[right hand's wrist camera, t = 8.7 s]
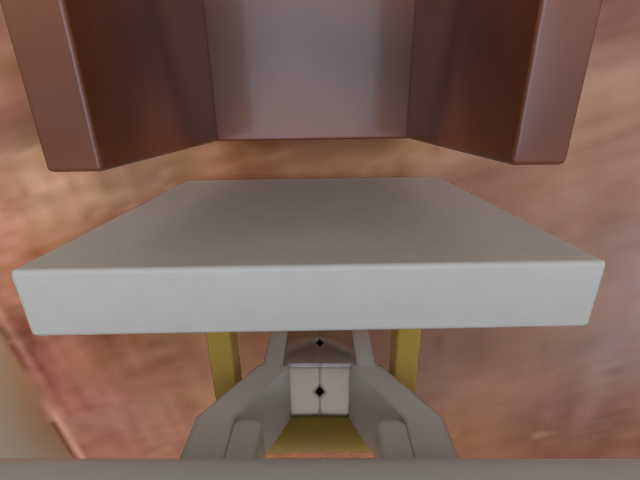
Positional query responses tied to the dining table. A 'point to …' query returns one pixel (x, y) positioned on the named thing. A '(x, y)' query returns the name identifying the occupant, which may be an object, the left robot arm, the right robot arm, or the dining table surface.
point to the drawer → (305, 194)
